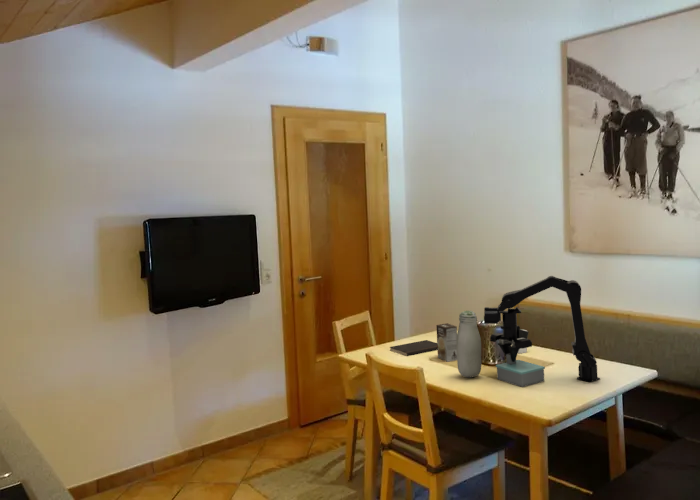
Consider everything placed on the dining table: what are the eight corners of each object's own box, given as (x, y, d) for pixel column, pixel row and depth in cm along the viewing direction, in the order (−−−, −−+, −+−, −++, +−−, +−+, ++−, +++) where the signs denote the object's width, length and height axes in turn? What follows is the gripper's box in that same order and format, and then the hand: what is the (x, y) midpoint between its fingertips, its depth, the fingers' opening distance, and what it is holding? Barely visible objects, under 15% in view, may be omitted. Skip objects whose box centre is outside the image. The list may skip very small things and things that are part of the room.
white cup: (509, 353, 291) (508, 332, 290) (513, 349, 298) (512, 329, 297) (526, 354, 287) (525, 333, 286) (529, 350, 294) (528, 329, 293)
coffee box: (437, 357, 290) (435, 324, 289) (448, 355, 292) (447, 323, 291) (447, 362, 281) (445, 327, 280) (459, 360, 283) (457, 326, 282)
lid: (544, 371, 243) (544, 357, 243) (521, 377, 237) (521, 362, 237) (518, 364, 256) (517, 350, 255) (495, 369, 250) (495, 355, 249)
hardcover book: (389, 351, 310) (389, 346, 310) (426, 344, 321) (426, 339, 321) (407, 357, 296) (407, 352, 296) (445, 349, 307) (444, 345, 307)
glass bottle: (464, 381, 250) (461, 314, 248) (454, 375, 260) (451, 310, 258) (486, 378, 252) (483, 311, 250) (475, 372, 262) (472, 308, 260)
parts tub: (544, 381, 244) (543, 369, 243) (522, 387, 238) (521, 374, 237) (518, 373, 256) (518, 362, 255) (497, 379, 250) (496, 367, 250)
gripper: (541, 324, 245) (542, 362, 246) (508, 317, 261) (509, 353, 263) (520, 328, 240) (522, 366, 241) (488, 321, 256) (490, 357, 257)
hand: (511, 361), depth 251 cm, fingers closed on lid, 2 cm apart
